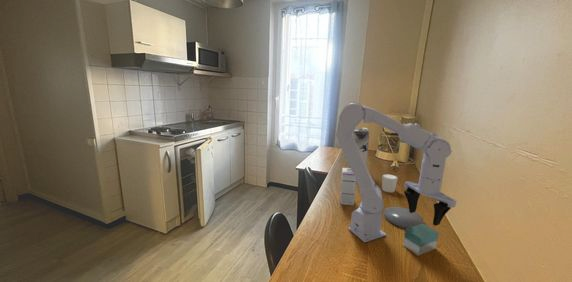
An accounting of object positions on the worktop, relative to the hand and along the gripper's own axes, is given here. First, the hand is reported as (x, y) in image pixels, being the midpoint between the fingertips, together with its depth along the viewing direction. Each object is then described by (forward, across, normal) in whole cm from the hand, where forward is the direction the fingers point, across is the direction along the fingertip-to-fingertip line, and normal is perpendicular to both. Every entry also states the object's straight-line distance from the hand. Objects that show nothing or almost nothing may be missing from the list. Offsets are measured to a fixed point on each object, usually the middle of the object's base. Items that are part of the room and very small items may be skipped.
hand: (423, 217), depth 70 cm
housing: (+9, -1, +2) cm, 9 cm away
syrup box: (+9, +31, +4) cm, 32 cm away
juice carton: (+9, +55, -25) cm, 61 cm away
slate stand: (+9, +11, -7) cm, 16 cm away
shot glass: (+9, +32, -23) cm, 41 cm away
